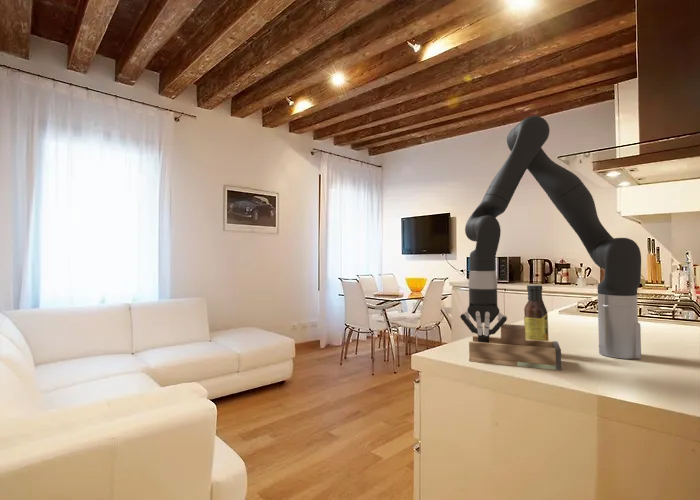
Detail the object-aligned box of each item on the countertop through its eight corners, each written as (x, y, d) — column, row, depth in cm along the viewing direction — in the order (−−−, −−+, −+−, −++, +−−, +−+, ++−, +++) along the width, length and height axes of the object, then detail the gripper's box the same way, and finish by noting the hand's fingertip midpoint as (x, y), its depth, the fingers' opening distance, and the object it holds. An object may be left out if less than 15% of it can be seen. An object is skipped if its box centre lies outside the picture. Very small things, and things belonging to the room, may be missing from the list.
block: (525, 354, 104) (525, 325, 104) (525, 359, 98) (525, 329, 98) (502, 352, 106) (501, 323, 106) (501, 357, 101) (500, 327, 101)
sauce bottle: (551, 356, 106) (550, 285, 106) (528, 355, 107) (526, 285, 108) (544, 350, 112) (543, 284, 113) (522, 349, 114) (521, 284, 114)
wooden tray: (557, 359, 103) (557, 341, 103) (561, 370, 93) (561, 350, 93) (473, 351, 112) (473, 334, 112) (469, 361, 102) (468, 342, 102)
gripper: (508, 286, 107) (509, 347, 106) (460, 285, 112) (461, 343, 112) (507, 288, 100) (508, 354, 99) (456, 287, 105) (457, 349, 105)
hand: (483, 348), depth 106 cm, fingers closed
